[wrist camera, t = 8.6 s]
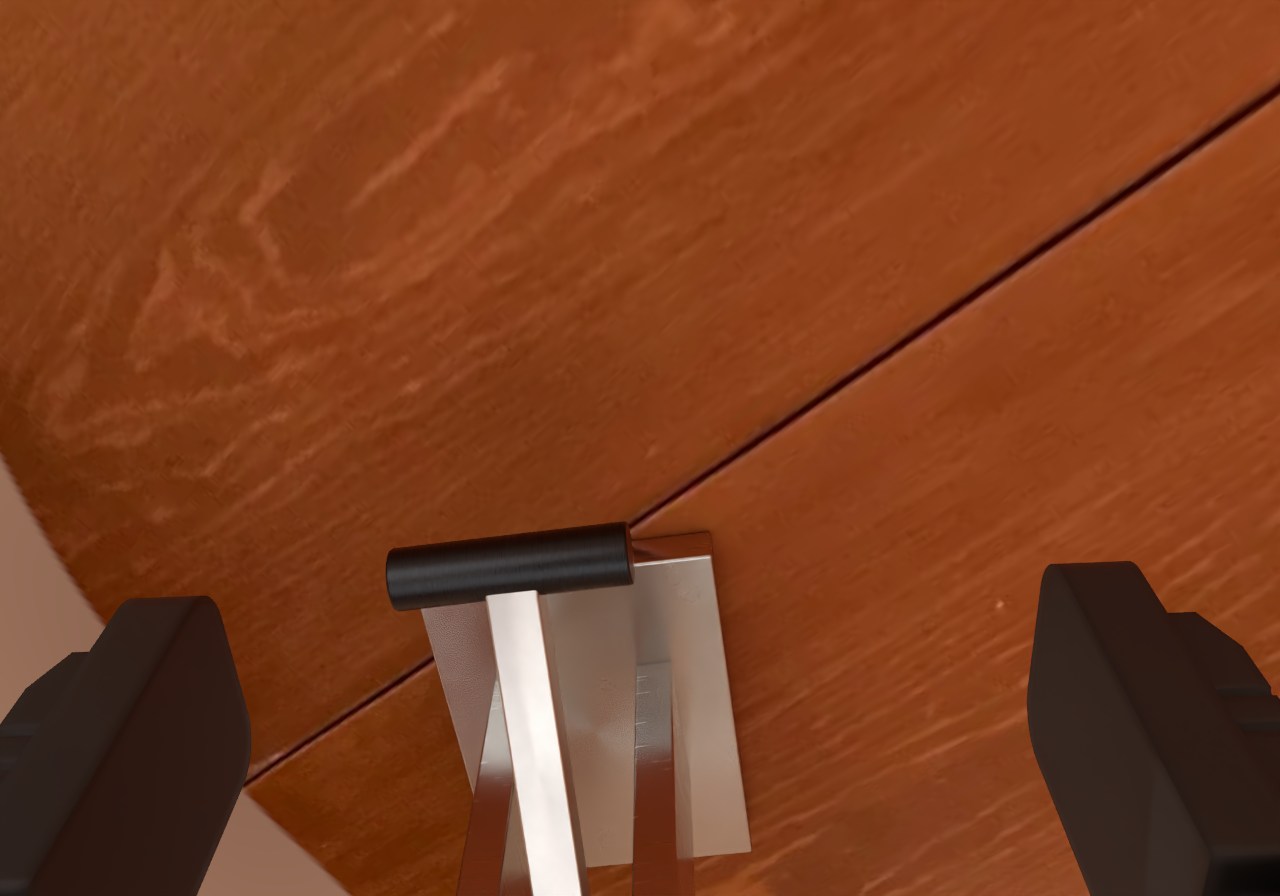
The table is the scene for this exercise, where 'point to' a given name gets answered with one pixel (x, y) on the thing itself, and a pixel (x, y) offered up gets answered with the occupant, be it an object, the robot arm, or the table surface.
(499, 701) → the bracket
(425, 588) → the lever
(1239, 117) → the table surface
